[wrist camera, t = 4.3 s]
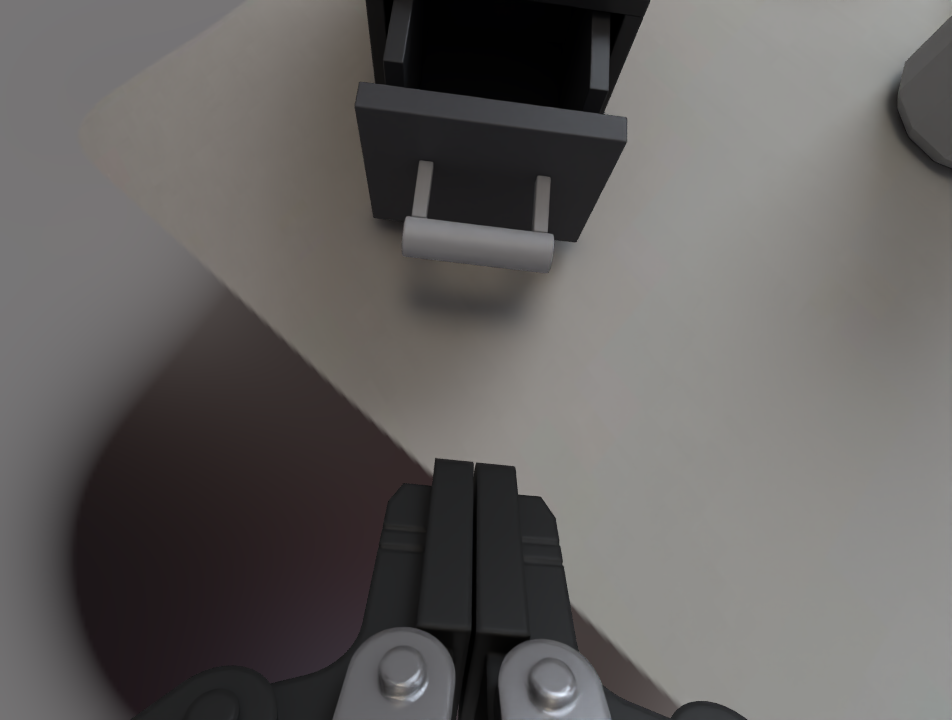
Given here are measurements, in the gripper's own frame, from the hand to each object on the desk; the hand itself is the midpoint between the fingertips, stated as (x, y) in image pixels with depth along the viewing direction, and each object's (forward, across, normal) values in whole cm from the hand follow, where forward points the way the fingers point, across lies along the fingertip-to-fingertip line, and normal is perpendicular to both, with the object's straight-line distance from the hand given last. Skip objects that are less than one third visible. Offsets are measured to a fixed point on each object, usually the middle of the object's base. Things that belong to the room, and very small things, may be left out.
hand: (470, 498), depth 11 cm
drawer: (+23, 0, +3) cm, 23 cm away
